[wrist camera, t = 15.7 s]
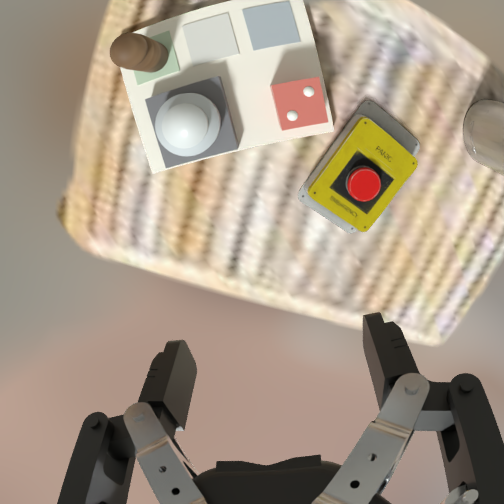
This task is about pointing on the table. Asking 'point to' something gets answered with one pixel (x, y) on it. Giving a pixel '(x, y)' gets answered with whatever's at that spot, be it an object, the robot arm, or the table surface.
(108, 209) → the table surface
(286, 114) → the die
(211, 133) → the dome
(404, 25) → the table surface
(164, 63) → the pawn
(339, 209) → the emergency button
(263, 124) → the board
